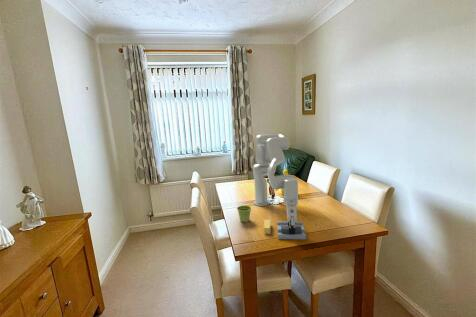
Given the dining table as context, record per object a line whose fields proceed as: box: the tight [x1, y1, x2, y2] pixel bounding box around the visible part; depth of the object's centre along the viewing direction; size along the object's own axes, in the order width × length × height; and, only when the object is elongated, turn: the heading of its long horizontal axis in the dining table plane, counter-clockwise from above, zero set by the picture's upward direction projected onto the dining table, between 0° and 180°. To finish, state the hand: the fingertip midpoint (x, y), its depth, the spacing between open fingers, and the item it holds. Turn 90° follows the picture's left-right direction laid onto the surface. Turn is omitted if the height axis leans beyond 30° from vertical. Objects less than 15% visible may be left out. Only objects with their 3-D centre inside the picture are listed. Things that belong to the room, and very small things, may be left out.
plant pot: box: [236, 204, 252, 223], centre depth 152 cm, size 9×9×9 cm
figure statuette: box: [274, 169, 289, 196], centre depth 195 cm, size 18×8×22 cm, turn 86°
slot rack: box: [276, 221, 307, 240], centre depth 134 cm, size 16×15×2 cm
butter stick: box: [263, 219, 272, 235], centre depth 139 cm, size 11×4×4 cm, turn 173°
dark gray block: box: [281, 226, 302, 234], centre depth 130 cm, size 11×4×4 cm, turn 83°
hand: (291, 230), depth 129 cm, fingers open, 6 cm apart
